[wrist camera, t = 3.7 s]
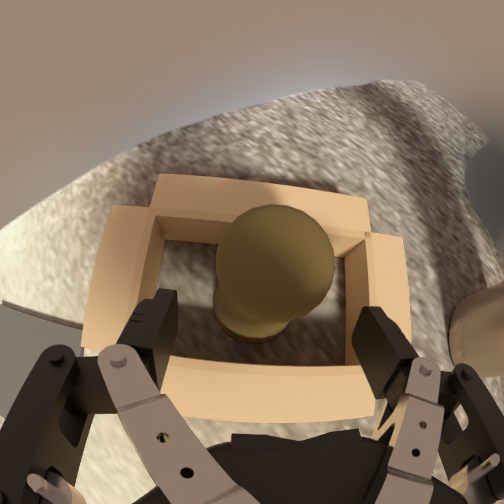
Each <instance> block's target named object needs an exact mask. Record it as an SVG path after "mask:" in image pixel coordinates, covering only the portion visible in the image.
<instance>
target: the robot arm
mask: <svg viewBox="0 0 504 504" xmlns="http://www.w3.org/2000/svg"><path fill="white" fill-rule="evenodd" d="M177 329H178V301H177V291H176V290H170V289H162V288H159V289H158V290H157V292H156V294H155V296H154V298H153V299H147V298H145V299H144V300H142V301H141V302H140V303H138V304H137V305H136V307H135V309H134V311H133V312H132V314H131V316H130V318H129V321H127V323H126V325H125V327H124V329H123V331H122V333H121V335H120V336H119V338H118V340H117V342H116V344H114V345H110V346H108V347H106V348H104V349H103V350H102V351H101V352H100V353H99V355H98V356H94V357H76V356H75V353H74V351H73V350H72V349H71V348H70V347H68V346H66V345H62V344H58V345H53V346H50V347H48V348H46V349H45V350H44V351H43V352H42V353H41V355H40V357H39V358H38V360H37V362H36V363H35V365H34V367H33V368H32V370H31V372H30V373H29V375H28V377H27V379H26V380H25V382H24V384H23V386H22V388H21V389H20V391H19V393H18V395H17V397H16V399H15V401H14V403H13V405H12V407H11V409H10V411H9V413H8V415H7V417H6V419H5V421H4V423H3V426H2V428H1V430H0V504H86V502H85V499H84V497H83V496H82V494H81V493H80V492H79V491H78V490H77V489H76V488H74V487H75V483H76V478H77V474H78V470H79V466H80V462H81V458H82V455H83V451H84V447H85V444H86V440H87V437H88V434H89V430H90V427H91V424H92V421H93V418H94V415H95V414H118V416H119V419H120V421H121V423H122V425H123V427H124V429H125V431H126V433H127V435H128V437H129V439H130V441H131V443H132V445H133V447H134V448H135V450H136V452H137V454H138V456H139V458H140V459H141V461H142V463H143V465H144V466H145V468H146V470H147V471H148V473H149V475H150V476H151V478H152V479H153V481H154V482H155V484H156V487H155V488H153V489H152V490H151V491H149V492H148V493H147V494H145V495H144V496H142V497H141V498H140V499H138V500H137V501H135V502H134V503H132V504H498V503H500V502H501V501H503V500H504V416H503V414H502V413H501V411H500V409H499V407H498V406H497V404H496V402H495V401H494V399H493V397H492V396H491V394H490V392H489V391H488V389H487V388H486V386H485V385H484V383H483V381H482V380H481V378H487V377H498V376H504V281H502V282H500V283H498V284H496V285H493V286H491V287H489V288H486V289H484V290H482V291H479V292H477V293H475V294H472V295H470V296H467V297H465V298H463V299H462V300H461V301H460V302H459V304H458V305H457V306H456V308H455V310H454V313H453V316H452V319H451V324H450V330H449V344H450V352H451V357H452V360H453V363H454V366H455V367H454V369H453V371H452V372H446V371H440V369H439V367H438V365H437V364H436V363H435V362H433V361H432V360H430V359H428V358H425V357H419V356H418V354H417V353H416V351H415V350H414V348H413V347H412V345H411V344H410V342H409V341H408V339H406V336H405V335H404V333H402V330H401V329H400V328H399V326H398V325H397V323H395V322H394V321H393V320H392V319H390V318H389V317H388V316H387V315H386V314H385V312H384V311H383V309H382V308H381V307H380V306H364V307H363V308H362V310H361V312H360V315H359V318H358V320H357V323H356V325H355V328H354V330H353V333H352V338H351V343H352V347H353V349H354V351H355V353H356V356H357V358H358V360H359V362H360V365H361V367H362V369H363V371H364V374H365V376H366V378H367V381H368V383H369V385H370V388H371V390H372V392H373V395H374V397H375V399H383V398H386V399H387V402H386V403H385V405H384V407H383V409H382V412H381V415H380V417H379V420H378V422H377V425H376V427H375V430H374V432H373V434H372V436H371V438H366V437H361V436H360V432H359V429H351V430H343V431H334V432H329V433H326V434H323V435H319V436H316V437H313V438H310V439H306V440H303V441H296V440H290V439H284V438H279V437H274V436H269V435H254V434H232V435H231V442H226V443H221V444H217V445H214V446H211V447H208V448H205V447H204V446H203V445H202V443H201V442H200V441H199V439H198V438H197V437H196V435H195V434H194V433H193V431H192V430H191V429H190V427H189V426H188V425H187V423H186V422H185V420H184V419H183V418H182V416H181V415H180V413H179V412H178V410H177V409H176V407H175V406H174V404H173V403H172V401H171V400H170V399H169V397H168V396H167V395H166V394H161V393H160V391H161V388H162V384H163V380H164V377H165V373H166V369H167V366H168V362H169V359H170V355H171V352H172V348H173V345H174V341H175V338H176V334H177ZM460 404H461V405H462V407H463V409H464V410H465V412H466V414H467V416H468V420H469V422H468V426H467V428H466V429H465V430H464V431H462V429H461V427H460V424H459V422H458V420H457V418H456V416H455V414H454V411H455V410H456V409H457V408H458V407H459V405H460ZM437 451H438V453H439V455H440V458H441V461H442V464H443V466H444V469H445V472H446V475H447V478H448V481H449V486H448V485H446V484H444V483H443V482H441V481H440V480H438V479H436V478H435V477H433V476H432V473H433V469H434V465H435V461H436V456H437Z"/></svg>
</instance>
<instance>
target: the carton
mask: <svg viewBox="0 0 504 504" xmlns="http://www.w3.org/2000/svg"><path fill="white" fill-rule="evenodd" d="M269 204H275V205H288V206H291V207H293V208H296V209H299V210H302V211H304V212H305V213H306V214H308V215H309V216H311V217H312V218H314V219H315V220H316V221H317V222H318V223H319V225H320V226H321V227H322V228H323V229H324V231H325V232H326V233H327V235H328V238H329V240H330V242H331V245H332V247H333V250H334V256H335V257H341V258H344V262H345V288H346V350H345V365H334V366H294V365H266V364H250V363H236V362H225V361H215V360H206V359H198V358H190V357H182V356H176V355H170V359H169V362H168V366H167V369H166V373H165V377H164V380H163V384H162V388H161V391H160V393H161V394H166V395H167V396H168V397H169V399H170V400H171V401H172V403H173V404H174V406H175V407H176V409H177V410H178V412H179V413H180V415H181V416H188V417H195V418H203V419H212V420H223V421H236V422H257V423H300V422H320V421H333V420H344V419H353V418H361V417H368V416H374V408H375V397H374V395H373V392H372V390H371V388H370V385H369V383H368V381H367V378H366V376H365V374H364V371H363V369H362V367H361V365H360V362H359V360H358V358H357V356H356V353H355V351H354V349H353V347H352V343H351V338H352V333H353V330H354V328H355V325H356V323H357V320H358V318H359V315H360V312H361V310H362V308H363V307H364V306H380V307H381V308H382V309H383V311H384V312H385V314H386V315H387V316H388V317H389V318H390V319H392V320H393V321H394V322H395V323H397V325H398V326H399V328H400V329H401V330H402V333H404V335H405V336H406V339H408V341H409V342H410V344H411V319H410V301H409V288H408V278H407V268H406V260H405V253H404V246H403V239H402V237H397V236H391V235H385V234H378V233H372V232H371V227H370V220H369V213H368V206H367V200H366V199H364V198H359V197H354V196H349V195H343V194H338V193H332V192H326V191H320V190H314V189H307V188H301V187H294V186H287V185H280V184H272V183H264V182H256V181H247V180H238V179H228V178H218V177H206V176H194V175H179V174H162V173H159V176H158V179H157V183H156V186H155V189H154V193H153V196H152V200H151V203H150V207H141V206H126V205H112V207H111V210H110V214H109V217H108V220H107V223H106V227H105V230H104V233H103V237H102V240H101V244H100V248H99V252H98V256H97V259H96V264H95V268H94V272H93V276H92V281H91V286H90V291H89V296H88V301H87V306H86V312H85V318H84V325H83V332H82V339H81V347H85V348H89V349H92V350H96V351H100V352H101V351H102V350H103V349H104V348H106V347H108V346H110V345H114V344H116V342H117V340H118V338H119V336H120V335H121V333H122V331H123V329H124V327H125V325H126V323H127V321H129V318H130V316H131V314H132V312H133V311H134V309H135V307H136V305H137V304H138V303H140V302H141V301H142V300H144V299H145V298H147V299H153V298H154V296H155V294H156V288H157V282H158V276H159V270H160V265H161V260H162V254H163V249H164V244H165V239H169V240H178V241H188V242H198V243H208V244H217V245H219V242H220V240H221V238H222V235H223V233H224V231H225V230H226V229H227V227H228V226H229V225H230V224H231V223H232V222H233V221H234V220H235V219H236V218H237V216H239V215H241V214H243V213H244V212H246V211H248V210H250V209H251V208H255V207H259V206H264V205H269Z"/></svg>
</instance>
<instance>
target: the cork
mask: <svg viewBox="0 0 504 504" xmlns="http://www.w3.org/2000/svg"><path fill="white" fill-rule="evenodd" d="M335 268H336V267H335V256H334V250H333V247H332V245H331V242H330V240H329V238H328V235H327V233H326V232H325V231H324V229H323V228H322V227H321V226H320V225H319V223H318V222H317V221H316V220H315V219H314V218H312V217H311V216H309V215H308V214H306V213H305V212H304V211H302V210H299V209H296V208H293V207H291V206H288V205H275V204H269V205H264V206H259V207H255V208H251V209H250V210H248V211H246V212H244V213H243V214H241V215H239V216H237V218H236V219H235V220H234V221H233V222H232V223H231V224H230V225H229V226H228V227H227V229H226V230H225V231H224V233H223V235H222V238H221V240H220V242H219V245H218V247H217V251H216V273H217V277H218V280H219V284H218V287H217V289H216V292H215V295H214V304H213V309H214V313H215V316H216V320H217V322H218V323H219V325H220V326H221V328H222V329H223V331H224V332H226V333H227V334H228V335H230V336H231V337H232V338H234V339H235V340H238V341H241V342H244V343H257V344H260V343H263V342H266V341H269V340H272V339H273V338H275V337H276V336H277V335H279V334H280V333H282V331H283V330H284V329H285V327H286V326H287V324H288V323H289V321H292V320H295V319H298V318H301V317H303V316H305V315H307V314H308V313H309V312H310V311H312V310H313V309H314V308H316V307H317V306H318V305H319V304H320V303H321V302H322V300H323V299H324V297H325V296H326V294H327V292H328V291H329V289H330V287H331V285H332V281H333V277H334V272H335Z"/></svg>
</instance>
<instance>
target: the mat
mask: <svg viewBox="0 0 504 504" xmlns="http://www.w3.org/2000/svg"><path fill="white" fill-rule="evenodd" d="M82 332H83V330H79V329H76V328H72V327H68V326H65V325H61V324H57V323H54V322H51V321H47V320H44V319H41V318H38V317H35V316H31V315H28V314H25V313H23V312H20V311H17V310H14V309H11V308H8V307H6V306H3V305H0V415H1V416H2V417H4V418H5V419H6V417H7V415H8V413H9V411H10V409H11V407H12V405H13V403H14V401H15V399H16V397H17V395H18V393H19V391H20V389H21V388H22V386H23V384H24V382H25V380H26V379H27V377H28V375H29V373H30V372H31V370H32V368H33V367H34V365H35V363H36V362H37V360H38V358H39V357H40V355H41V353H42V352H43V351H44V350H45V349H46V348H48V347H50V346H53V345H58V344H62V345H66V346H68V347H70V348H71V349H72V350H73V351H74V353H75V356H76V357H83V353H84V347H81V339H82Z"/></svg>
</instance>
